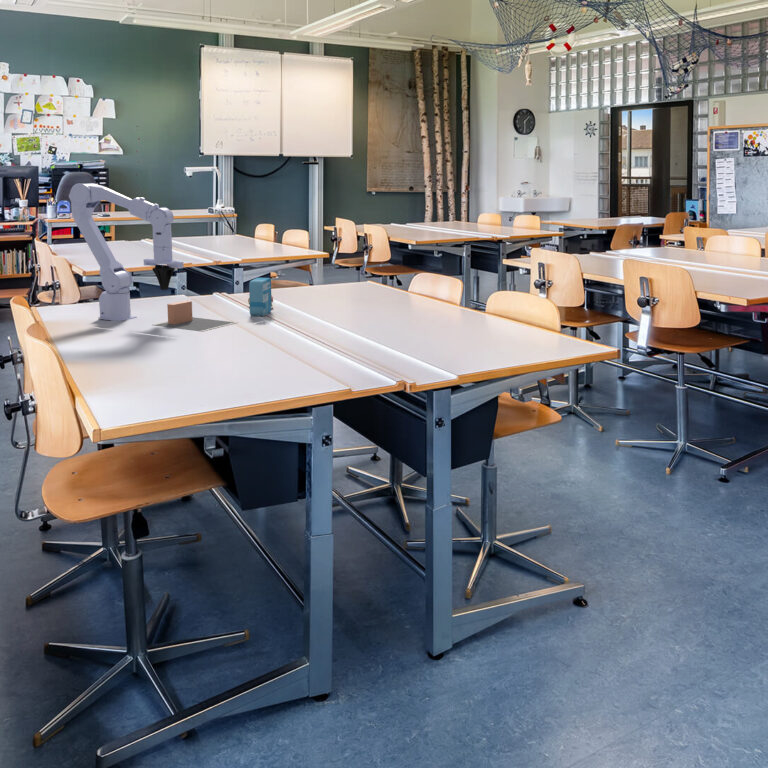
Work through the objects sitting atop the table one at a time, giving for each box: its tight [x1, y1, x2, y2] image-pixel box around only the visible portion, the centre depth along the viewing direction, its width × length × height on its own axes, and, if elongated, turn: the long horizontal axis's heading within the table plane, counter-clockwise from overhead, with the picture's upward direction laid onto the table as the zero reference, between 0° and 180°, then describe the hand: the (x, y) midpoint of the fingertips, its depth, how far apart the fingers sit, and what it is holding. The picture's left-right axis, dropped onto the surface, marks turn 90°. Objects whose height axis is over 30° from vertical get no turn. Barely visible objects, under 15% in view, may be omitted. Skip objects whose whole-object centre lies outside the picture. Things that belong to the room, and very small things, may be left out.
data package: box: [248, 277, 272, 317], centre depth 283 cm, size 12×4×12 cm, turn 173°
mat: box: [152, 316, 239, 333], centre depth 261 cm, size 20×18×1 cm
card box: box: [166, 300, 193, 324], centre depth 262 cm, size 2×9×6 cm, turn 154°
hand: (164, 289), depth 263 cm, fingers closed
